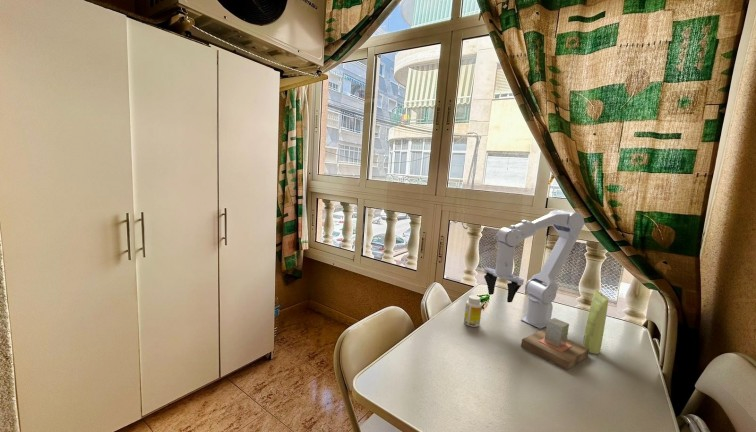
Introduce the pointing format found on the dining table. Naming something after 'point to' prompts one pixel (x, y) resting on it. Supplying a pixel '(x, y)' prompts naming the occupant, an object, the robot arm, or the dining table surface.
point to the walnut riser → (555, 350)
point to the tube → (596, 323)
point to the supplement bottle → (473, 311)
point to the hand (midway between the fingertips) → (500, 297)
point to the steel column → (556, 333)
